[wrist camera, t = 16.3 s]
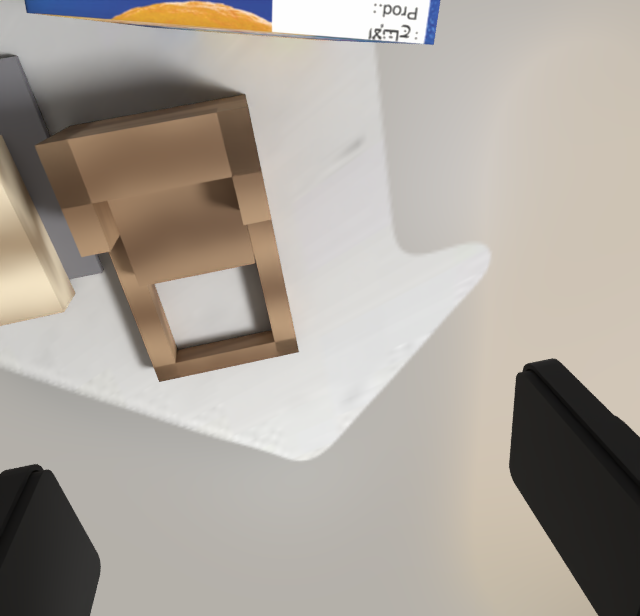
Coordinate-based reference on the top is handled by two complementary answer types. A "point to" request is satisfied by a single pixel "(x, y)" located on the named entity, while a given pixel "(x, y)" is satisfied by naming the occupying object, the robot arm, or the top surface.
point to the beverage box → (265, 17)
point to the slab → (26, 254)
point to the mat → (37, 164)
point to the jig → (174, 217)
